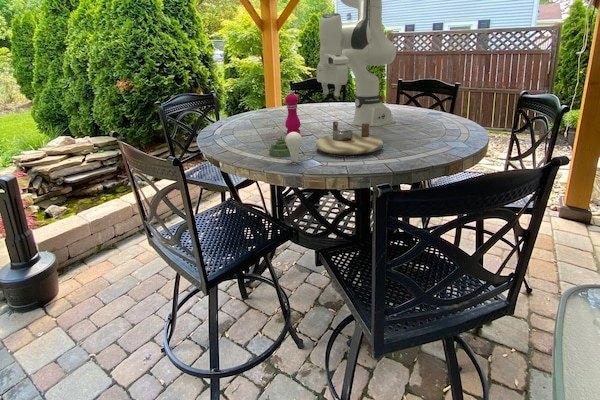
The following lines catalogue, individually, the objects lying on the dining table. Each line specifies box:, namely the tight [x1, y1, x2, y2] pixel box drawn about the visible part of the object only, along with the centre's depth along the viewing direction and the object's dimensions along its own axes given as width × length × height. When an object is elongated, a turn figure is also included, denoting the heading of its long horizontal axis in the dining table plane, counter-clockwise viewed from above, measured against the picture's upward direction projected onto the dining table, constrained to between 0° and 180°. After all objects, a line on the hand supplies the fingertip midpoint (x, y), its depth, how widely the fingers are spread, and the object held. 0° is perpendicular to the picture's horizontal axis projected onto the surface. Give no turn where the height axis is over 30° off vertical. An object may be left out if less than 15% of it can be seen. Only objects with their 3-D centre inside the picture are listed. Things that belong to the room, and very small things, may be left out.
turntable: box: [315, 123, 383, 154], centre depth 145 cm, size 26×26×6 cm
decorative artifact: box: [268, 135, 291, 158], centre depth 145 cm, size 10×7×10 cm
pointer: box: [332, 121, 339, 132], centre depth 160 cm, size 6×5×8 cm
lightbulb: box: [284, 132, 303, 163], centre depth 133 cm, size 6×6×11 cm
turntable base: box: [324, 152, 373, 158], centre depth 147 cm, size 20×20×2 cm
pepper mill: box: [284, 90, 301, 136], centre depth 173 cm, size 7×7×20 cm
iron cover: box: [332, 128, 354, 141], centre depth 150 cm, size 8×8×4 cm
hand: (331, 95), depth 152 cm, fingers open, 8 cm apart
